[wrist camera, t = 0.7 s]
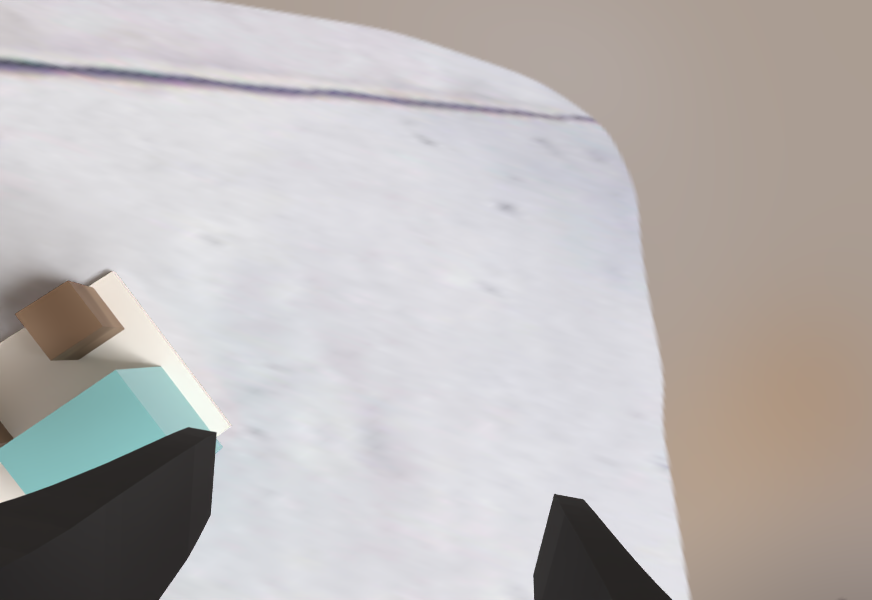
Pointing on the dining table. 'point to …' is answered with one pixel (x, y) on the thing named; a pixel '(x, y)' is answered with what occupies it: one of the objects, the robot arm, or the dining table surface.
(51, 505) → the robot arm
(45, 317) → the tan block
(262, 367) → the dining table surface
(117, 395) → the teal block
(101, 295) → the board
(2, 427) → the post
